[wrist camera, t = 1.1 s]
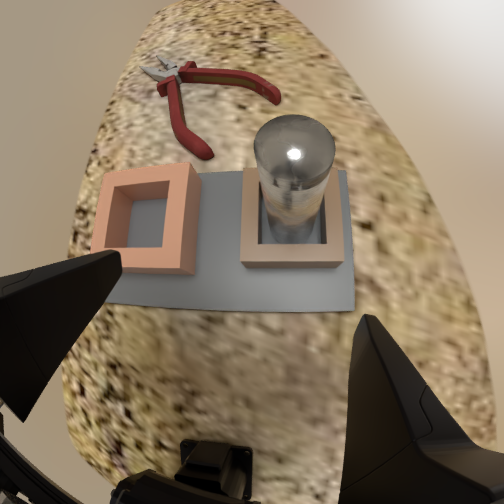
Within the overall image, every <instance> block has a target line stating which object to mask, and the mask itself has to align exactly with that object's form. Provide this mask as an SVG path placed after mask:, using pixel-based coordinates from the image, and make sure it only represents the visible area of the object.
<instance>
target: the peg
mask: <svg viewBox="0 0 504 504" xmlns="http://www.w3.org/2000/svg"><path fill="white" fill-rule="evenodd" d="M254 153H255V158H256V163H257V168H258V172H259V177H260V182H261V187H262V192H263V197H264V202H265V208H266V213H267V218H268V223H269V228H270V232H271V234H272V236H273V237H274V238H275V239H276V240H277V241H278V242H280V243H282V244H301V243H303V242H305V241H306V240H307V239H308V238H309V237H310V235H311V233H312V230H313V227H314V224H315V221H316V218H317V214H318V211H319V208H320V205H321V201H322V198H323V195H324V191H325V188H326V184H327V181H328V178H329V174H330V171H331V167H332V164H333V160H334V156H335V142H334V139H333V137H332V135H331V133H330V132H329V131H328V129H327V128H326V127H325V126H324V125H322V124H321V123H320V122H318V121H317V120H314V119H312V118H310V117H307V116H303V115H294V114H292V115H283V116H279V117H276V118H274V119H272V120H270V121H268V122H267V123H266V124H264V125H263V126H262V127H261V128H260V130H259V131H258V133H257V135H256V137H255V140H254Z"/></svg>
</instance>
